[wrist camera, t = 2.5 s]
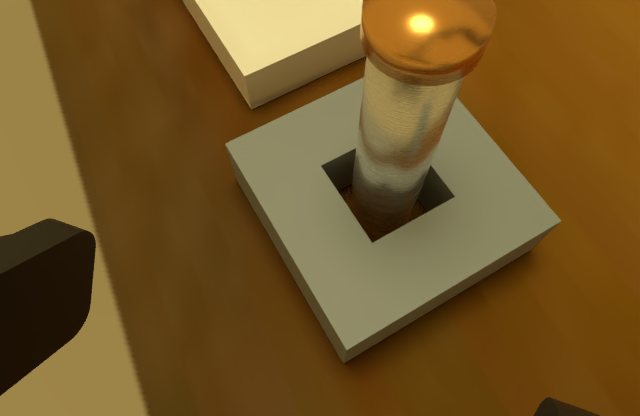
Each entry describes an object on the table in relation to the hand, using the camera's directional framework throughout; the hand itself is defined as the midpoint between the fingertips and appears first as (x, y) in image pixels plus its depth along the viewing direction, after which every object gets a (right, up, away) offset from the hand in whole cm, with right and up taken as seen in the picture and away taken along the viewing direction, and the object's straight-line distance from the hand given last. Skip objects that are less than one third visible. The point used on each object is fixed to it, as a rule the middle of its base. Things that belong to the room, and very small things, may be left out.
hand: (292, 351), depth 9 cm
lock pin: (+4, +2, +20) cm, 21 cm away
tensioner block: (+4, +2, +20) cm, 21 cm away
